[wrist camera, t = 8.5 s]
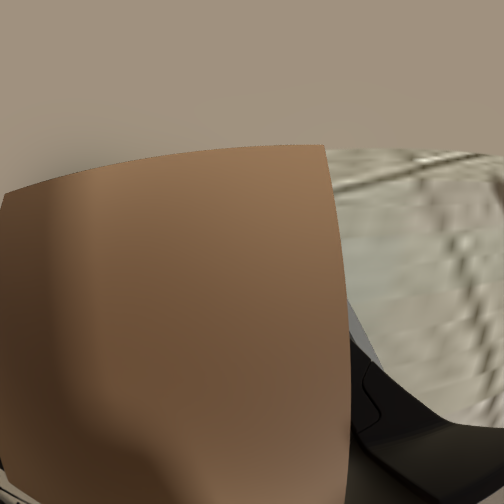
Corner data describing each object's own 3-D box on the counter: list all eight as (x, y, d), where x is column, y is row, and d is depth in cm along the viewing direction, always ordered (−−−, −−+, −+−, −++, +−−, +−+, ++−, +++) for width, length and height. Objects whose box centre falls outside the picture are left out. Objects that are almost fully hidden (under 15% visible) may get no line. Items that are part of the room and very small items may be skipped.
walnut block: (285, 391, 14) (334, 557, 2) (188, 391, 14) (8, 482, 2) (281, 295, 16) (323, 144, 3) (186, 298, 16) (4, 193, 4)
